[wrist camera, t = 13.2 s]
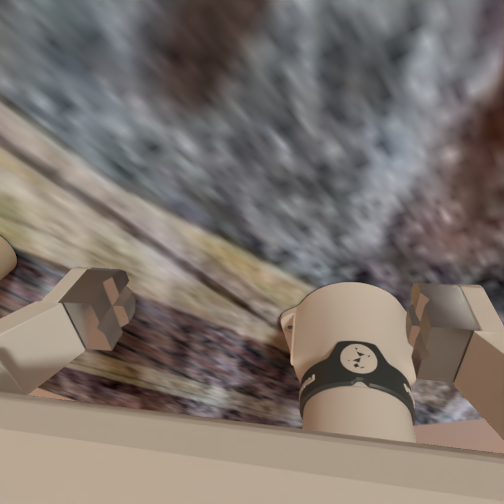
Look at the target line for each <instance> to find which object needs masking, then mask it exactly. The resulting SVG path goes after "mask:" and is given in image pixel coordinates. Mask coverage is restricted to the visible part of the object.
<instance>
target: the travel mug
mask: <svg viewBox="0 0 504 504" xmlns="http://www.w3.org/2000/svg"><path fill="white" fill-rule="evenodd" d="M16 264H17V257H16V254H15V252H14V250H13V248H12V247H11V246H10V244H9V243H8V242H7V241H6V240H5V239H4V238H2V237H1V236H0V280H1V279H2V278H3V277H5V276H6V275H7V274H8V273H9V272H10V271H12V270H13V269H14V268H15V267H16Z"/></svg>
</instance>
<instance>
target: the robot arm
mask: <svg viewBox="0 0 504 504" xmlns="http://www.w3.org/2000/svg"><path fill="white" fill-rule="evenodd" d="M128 282H129V279H128V277H127V274H126V272H125V271H123V270H120V269H105V268H88V267H76V268H72V269H71V270H70V271H69V272H68V273H67V275H66V276H65V277H64V278H63V279H62V280H61V281H60V282H59V283H58V284H57V285H56V286H55V287H54V288H53V289H52V290H51V291H50V292H49V293H48V294H47V295H46V297H45V298H44V299H43V300H42V301H41V302H38V301H36V302H34V303H32V304H30V305H28V306H25V307H23V308H21V309H19V310H17V311H15V312H13V313H11V314H9V315H7V316H5V317H3V318H1V319H0V504H504V454H501V453H493V452H485V451H477V450H469V449H461V448H453V447H444V446H436V445H428V444H420V443H417V441H416V437H415V432H414V428H413V426H414V424H415V417H416V416H415V410H414V408H415V403H414V398H413V395H412V392H411V388H410V386H411V385H412V384H414V383H415V380H416V378H417V379H424V380H433V381H441V382H450V383H454V384H453V385H454V386H455V387H456V388H457V389H458V390H459V391H460V392H461V394H462V395H463V396H464V397H465V398H466V399H467V400H468V401H469V402H470V403H471V405H472V406H473V407H474V408H475V409H476V410H477V411H478V412H479V413H480V414H481V416H482V417H483V418H484V419H485V420H486V421H487V422H488V423H489V424H490V425H491V427H492V428H493V429H494V430H495V431H496V432H497V433H498V434H499V435H500V436H501V438H502V439H503V440H504V326H503V324H502V322H501V320H500V318H499V317H498V315H497V313H496V311H495V309H494V307H493V306H492V304H491V302H490V300H489V298H488V296H487V295H486V293H485V291H484V289H483V287H481V286H480V285H458V284H457V285H444V284H420V283H415V284H414V286H413V288H412V292H411V298H412V302H413V304H412V305H411V306H410V307H408V310H407V312H406V311H405V310H404V308H403V307H402V306H401V304H400V303H399V302H398V300H397V299H396V298H395V297H393V296H392V295H391V294H389V293H388V292H386V291H385V290H383V289H380V288H378V287H375V286H372V285H369V284H364V283H357V282H343V283H336V284H331V285H328V286H325V287H322V288H320V289H318V290H316V291H314V292H313V293H311V294H310V295H308V296H307V297H306V298H305V299H304V300H303V301H302V302H301V303H300V304H299V305H298V306H297V307H294V308H292V309H289V310H287V311H285V312H284V313H282V314H281V325H282V329H283V332H284V335H285V338H286V341H287V344H288V348H289V351H290V354H291V365H293V366H294V370H295V373H296V375H297V378H298V380H299V382H300V385H301V388H300V392H299V405H300V415H301V417H302V420H303V425H302V429H298V428H289V427H281V426H273V425H265V424H257V423H248V422H240V421H232V420H224V419H216V418H208V417H200V416H192V415H184V414H176V413H168V412H160V411H151V410H143V409H135V408H127V407H119V406H111V405H103V404H95V403H86V402H78V401H70V400H62V399H54V398H45V397H38V396H29V395H28V394H29V393H31V392H32V391H33V390H34V389H36V388H37V387H38V386H40V385H41V384H42V383H44V382H45V381H46V380H48V379H49V378H50V377H51V376H53V375H54V374H55V373H57V372H58V371H59V370H61V369H62V368H63V367H64V366H66V365H67V364H68V363H70V362H71V361H72V360H74V359H75V358H76V357H77V356H79V355H80V354H81V353H83V352H84V351H85V349H94V350H111V351H112V350H113V348H114V346H115V345H116V343H117V341H118V340H119V338H120V337H121V335H122V328H121V327H122V326H124V325H126V324H127V323H129V322H130V320H131V318H132V317H133V315H134V311H135V306H136V303H135V296H134V293H133V291H131V290H130V289H129V288H128V287H127V284H128ZM289 325H291V326H289Z"/></svg>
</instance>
